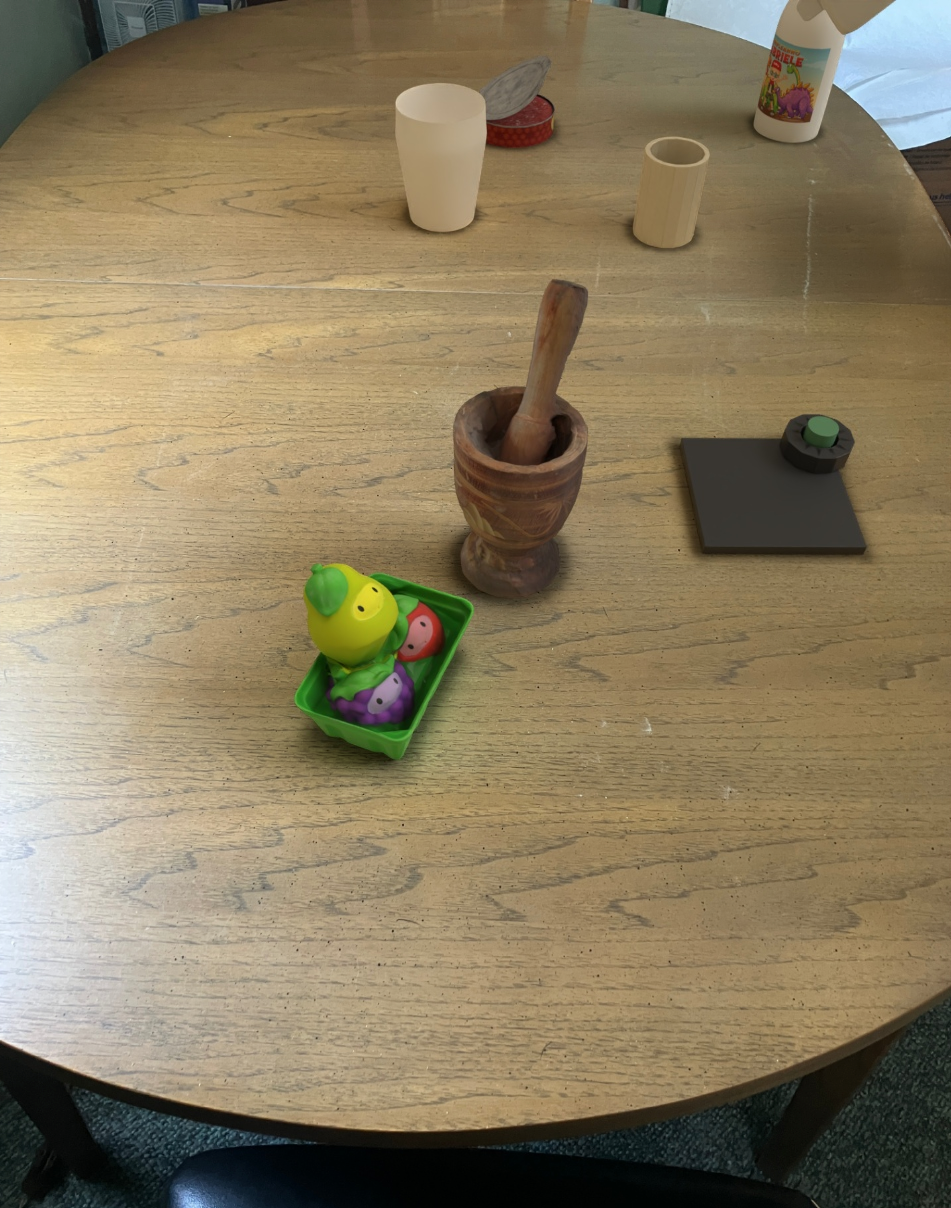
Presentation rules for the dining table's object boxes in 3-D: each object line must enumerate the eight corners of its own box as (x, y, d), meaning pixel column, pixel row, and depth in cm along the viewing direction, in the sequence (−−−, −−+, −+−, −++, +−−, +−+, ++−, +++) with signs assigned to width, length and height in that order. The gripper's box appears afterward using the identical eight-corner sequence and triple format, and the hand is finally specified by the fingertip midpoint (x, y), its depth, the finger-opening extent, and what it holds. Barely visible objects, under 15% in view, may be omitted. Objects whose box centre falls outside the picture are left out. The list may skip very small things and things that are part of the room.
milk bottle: (779, 112, 118) (827, -79, 102) (830, 135, 114) (888, -60, 99) (738, 130, 115) (782, -65, 99) (789, 154, 111) (843, -44, 95)
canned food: (530, 190, 114) (521, 133, 104) (459, 159, 116) (445, 100, 107) (577, 115, 115) (573, 51, 105) (506, 85, 117) (496, 21, 108)
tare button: (829, 429, 76) (835, 416, 75) (837, 449, 75) (842, 436, 74) (800, 429, 76) (804, 415, 75) (806, 449, 75) (811, 436, 74)
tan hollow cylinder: (687, 222, 101) (704, 136, 94) (696, 253, 97) (714, 167, 90) (629, 221, 101) (641, 136, 94) (635, 253, 97) (649, 166, 90)
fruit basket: (409, 787, 58) (400, 684, 50) (282, 740, 60) (252, 633, 52) (477, 649, 65) (480, 536, 56) (361, 611, 67) (346, 496, 58)
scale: (833, 442, 79) (844, 414, 77) (876, 559, 71) (890, 532, 68) (676, 441, 79) (682, 412, 77) (701, 559, 71) (709, 531, 68)
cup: (385, 210, 102) (378, 92, 92) (461, 191, 104) (461, 75, 95) (421, 251, 97) (418, 131, 87) (499, 230, 99) (504, 112, 90)
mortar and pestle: (462, 490, 75) (464, 259, 59) (572, 498, 74) (602, 268, 59) (447, 603, 68) (445, 374, 52) (568, 612, 67) (602, 385, 52)
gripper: (965, -21, 68) (797, 94, 79) (995, -125, 79) (843, -11, 90) (922, -101, 66) (755, 30, 76) (959, -197, 77) (807, -71, 87)
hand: (803, 7), depth 83 cm, fingers closed
